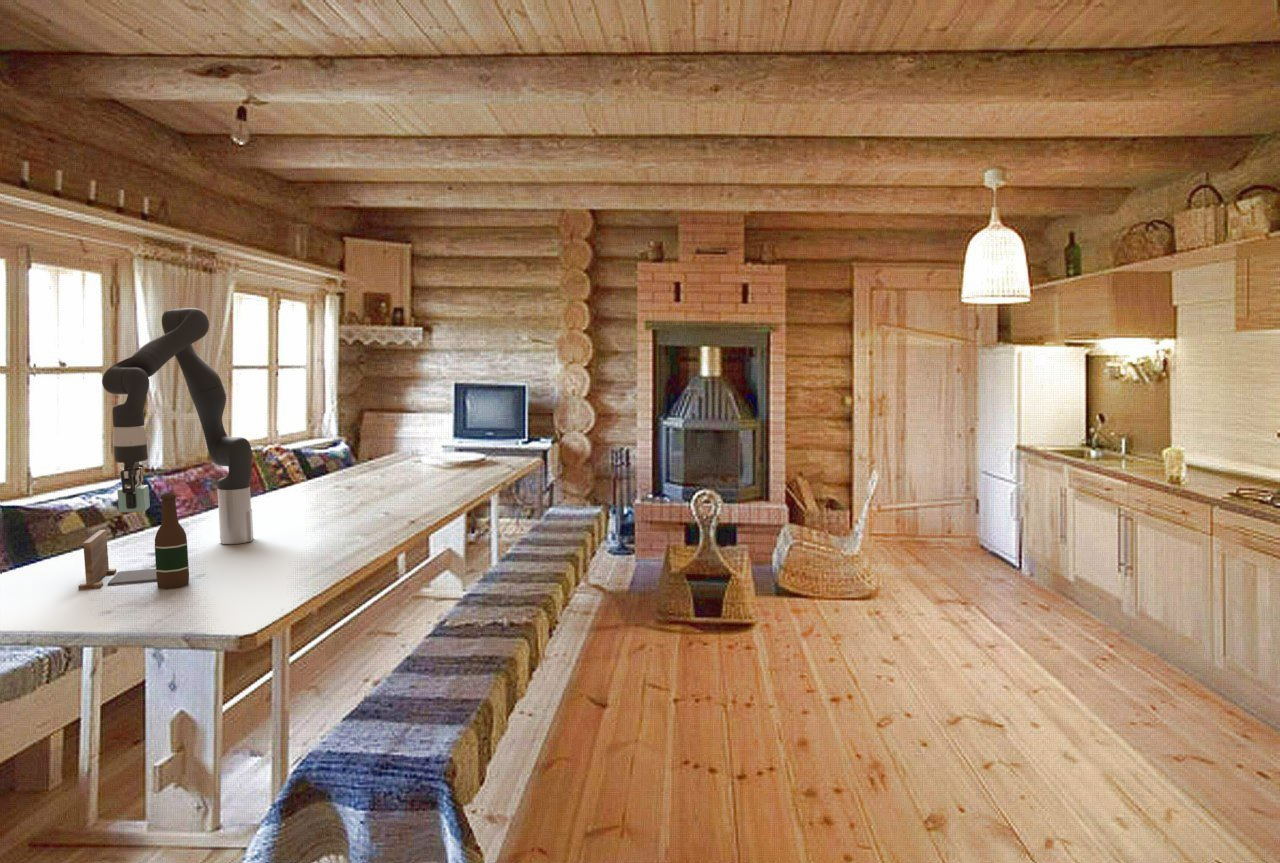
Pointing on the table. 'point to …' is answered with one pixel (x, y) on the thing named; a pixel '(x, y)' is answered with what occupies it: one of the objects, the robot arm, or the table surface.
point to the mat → (134, 577)
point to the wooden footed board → (96, 561)
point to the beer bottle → (171, 548)
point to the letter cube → (141, 499)
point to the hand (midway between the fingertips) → (134, 505)
